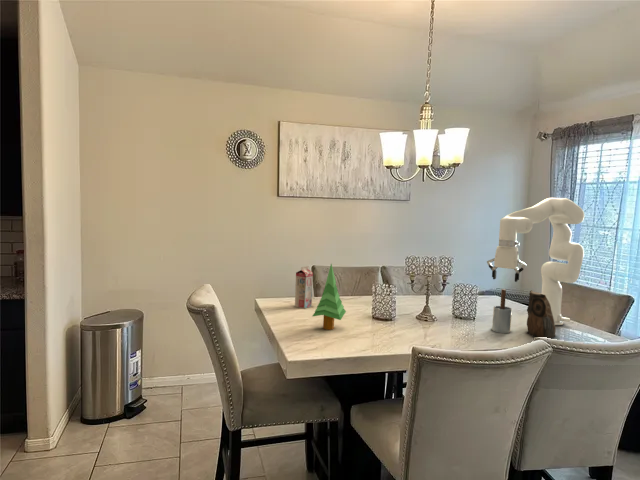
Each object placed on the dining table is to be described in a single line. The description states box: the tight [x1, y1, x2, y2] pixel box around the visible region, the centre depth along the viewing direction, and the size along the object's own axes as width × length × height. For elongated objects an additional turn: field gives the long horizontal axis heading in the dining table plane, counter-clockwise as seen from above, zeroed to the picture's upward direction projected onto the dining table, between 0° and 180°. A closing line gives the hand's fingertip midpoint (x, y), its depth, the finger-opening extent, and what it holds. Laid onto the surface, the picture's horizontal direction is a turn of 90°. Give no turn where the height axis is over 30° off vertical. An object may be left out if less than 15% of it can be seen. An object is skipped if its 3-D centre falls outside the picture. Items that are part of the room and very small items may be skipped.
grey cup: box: [491, 305, 513, 334], centre depth 213 cm, size 8×8×11 cm
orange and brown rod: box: [499, 288, 507, 309], centre depth 213 cm, size 4×4×19 cm
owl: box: [526, 290, 556, 339], centre depth 207 cm, size 13×13×20 cm
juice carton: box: [294, 265, 314, 309], centre depth 247 cm, size 7×7×22 cm
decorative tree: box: [312, 263, 347, 331], centre depth 204 cm, size 14×16×30 cm
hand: (505, 280), depth 212 cm, fingers open, 9 cm apart
